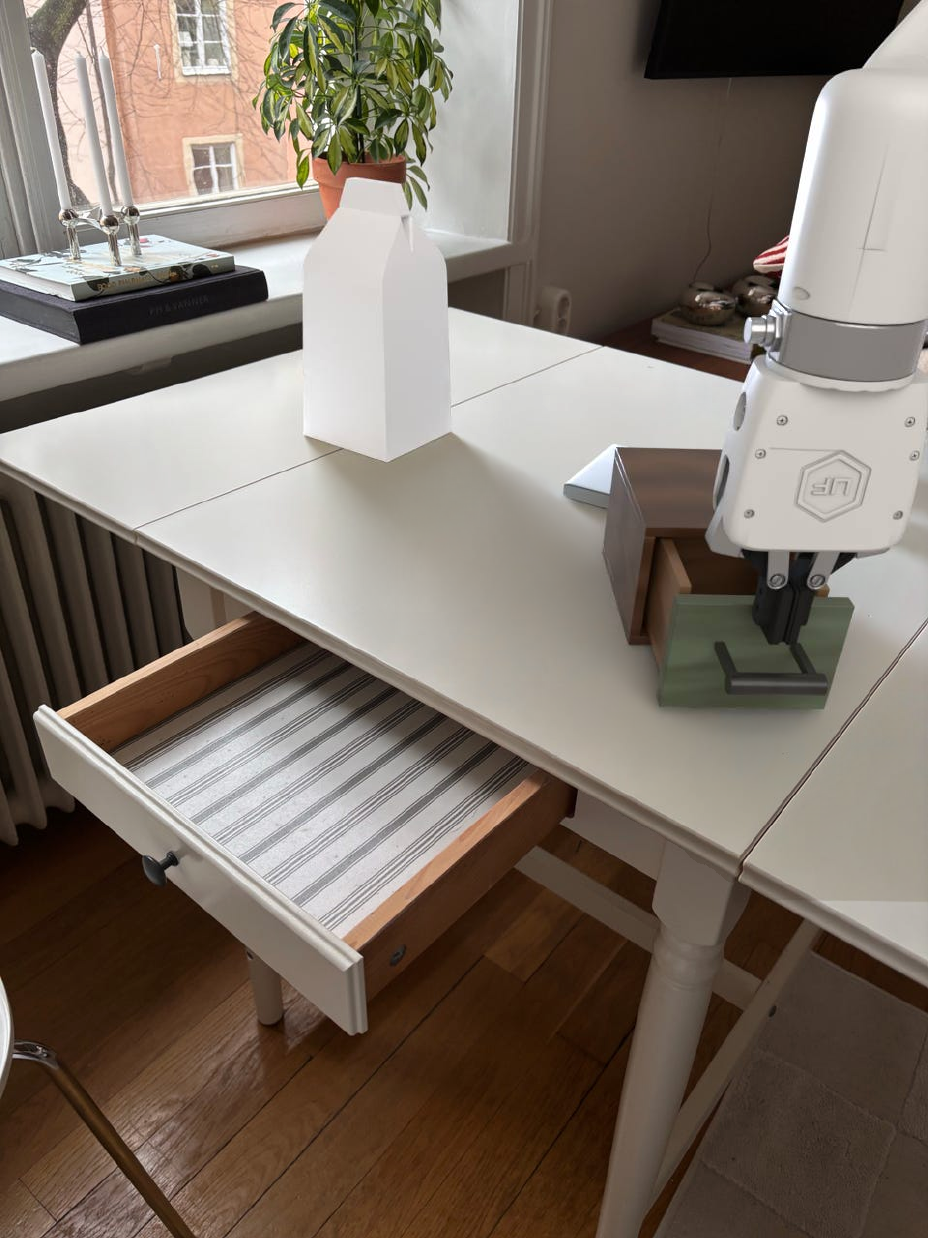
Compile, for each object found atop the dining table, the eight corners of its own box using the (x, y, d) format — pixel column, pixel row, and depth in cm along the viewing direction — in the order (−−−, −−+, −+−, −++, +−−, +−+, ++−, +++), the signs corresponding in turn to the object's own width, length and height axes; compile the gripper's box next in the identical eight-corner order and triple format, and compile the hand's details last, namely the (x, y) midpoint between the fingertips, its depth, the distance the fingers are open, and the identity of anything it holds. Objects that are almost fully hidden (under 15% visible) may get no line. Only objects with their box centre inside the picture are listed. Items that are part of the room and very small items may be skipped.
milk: (303, 434, 106) (287, 179, 92) (371, 407, 114) (365, 168, 100) (386, 462, 100) (383, 195, 86) (451, 431, 108) (457, 181, 94)
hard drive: (642, 502, 91) (685, 458, 100) (563, 482, 94) (611, 441, 103) (639, 518, 91) (682, 473, 101) (562, 497, 95) (610, 455, 104)
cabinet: (791, 648, 73) (822, 530, 68) (628, 645, 73) (645, 526, 67) (742, 555, 86) (764, 450, 80) (602, 553, 85) (615, 446, 80)
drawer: (850, 757, 61) (885, 650, 57) (673, 754, 61) (694, 646, 56) (768, 605, 77) (791, 512, 72) (627, 602, 76) (641, 508, 72)
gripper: (719, 362, 47) (668, 667, 57) (1021, 366, 47) (917, 669, 57) (686, 319, 53) (646, 600, 63) (953, 322, 53) (871, 602, 63)
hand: (775, 632), depth 60 cm, fingers closed
